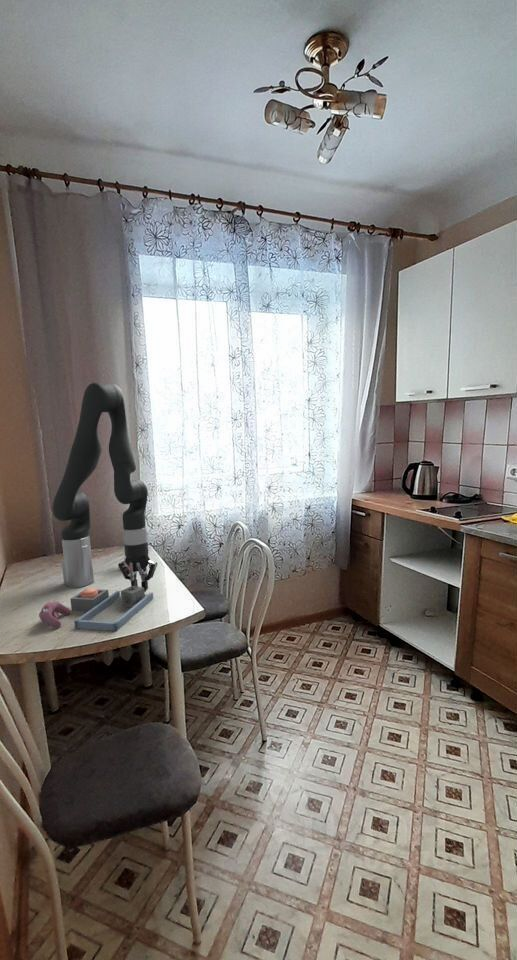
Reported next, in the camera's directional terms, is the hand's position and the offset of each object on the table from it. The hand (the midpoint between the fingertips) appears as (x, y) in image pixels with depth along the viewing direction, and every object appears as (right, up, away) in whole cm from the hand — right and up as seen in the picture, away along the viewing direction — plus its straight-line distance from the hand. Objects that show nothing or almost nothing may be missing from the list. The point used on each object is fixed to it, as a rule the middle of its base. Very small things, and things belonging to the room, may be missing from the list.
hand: (140, 590), depth 144 cm
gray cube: (0, -2, -8) cm, 9 cm away
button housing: (-13, -3, -8) cm, 16 cm away
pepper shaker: (-10, +2, +29) cm, 31 cm away
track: (-3, -3, -14) cm, 14 cm away
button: (-13, -1, -9) cm, 16 cm away
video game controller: (-20, -5, -18) cm, 27 cm away
